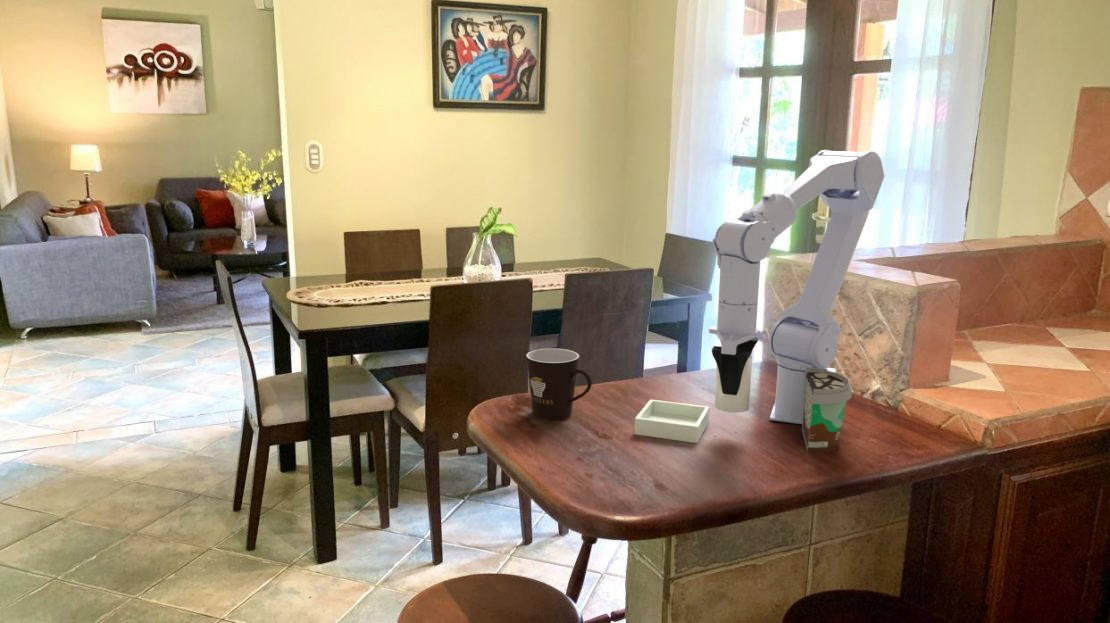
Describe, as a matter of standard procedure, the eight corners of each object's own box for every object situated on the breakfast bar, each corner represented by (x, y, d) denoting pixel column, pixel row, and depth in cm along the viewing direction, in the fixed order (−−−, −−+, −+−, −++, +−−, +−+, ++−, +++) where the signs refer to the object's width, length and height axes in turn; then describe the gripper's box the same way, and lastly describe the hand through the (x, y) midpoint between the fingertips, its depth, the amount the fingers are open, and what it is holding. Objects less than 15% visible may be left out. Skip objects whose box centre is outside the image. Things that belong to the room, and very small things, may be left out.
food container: (852, 459, 118) (859, 393, 116) (808, 455, 119) (814, 390, 117) (841, 429, 130) (846, 369, 128) (801, 426, 131) (806, 366, 129)
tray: (708, 422, 133) (709, 406, 132) (697, 443, 124) (698, 426, 123) (649, 414, 136) (650, 399, 135) (634, 434, 127) (634, 418, 126)
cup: (751, 403, 127) (754, 353, 125) (746, 414, 123) (749, 362, 121) (717, 399, 129) (720, 350, 127) (711, 409, 124) (714, 358, 122)
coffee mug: (518, 408, 138) (518, 351, 136) (565, 402, 141) (566, 346, 139) (545, 431, 128) (545, 370, 125) (594, 424, 131) (596, 364, 129)
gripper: (719, 290, 130) (714, 372, 133) (702, 308, 117) (697, 399, 120) (764, 293, 128) (759, 377, 131) (752, 313, 114) (746, 405, 117)
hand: (732, 388), depth 125 cm, fingers closed on cup, 5 cm apart
